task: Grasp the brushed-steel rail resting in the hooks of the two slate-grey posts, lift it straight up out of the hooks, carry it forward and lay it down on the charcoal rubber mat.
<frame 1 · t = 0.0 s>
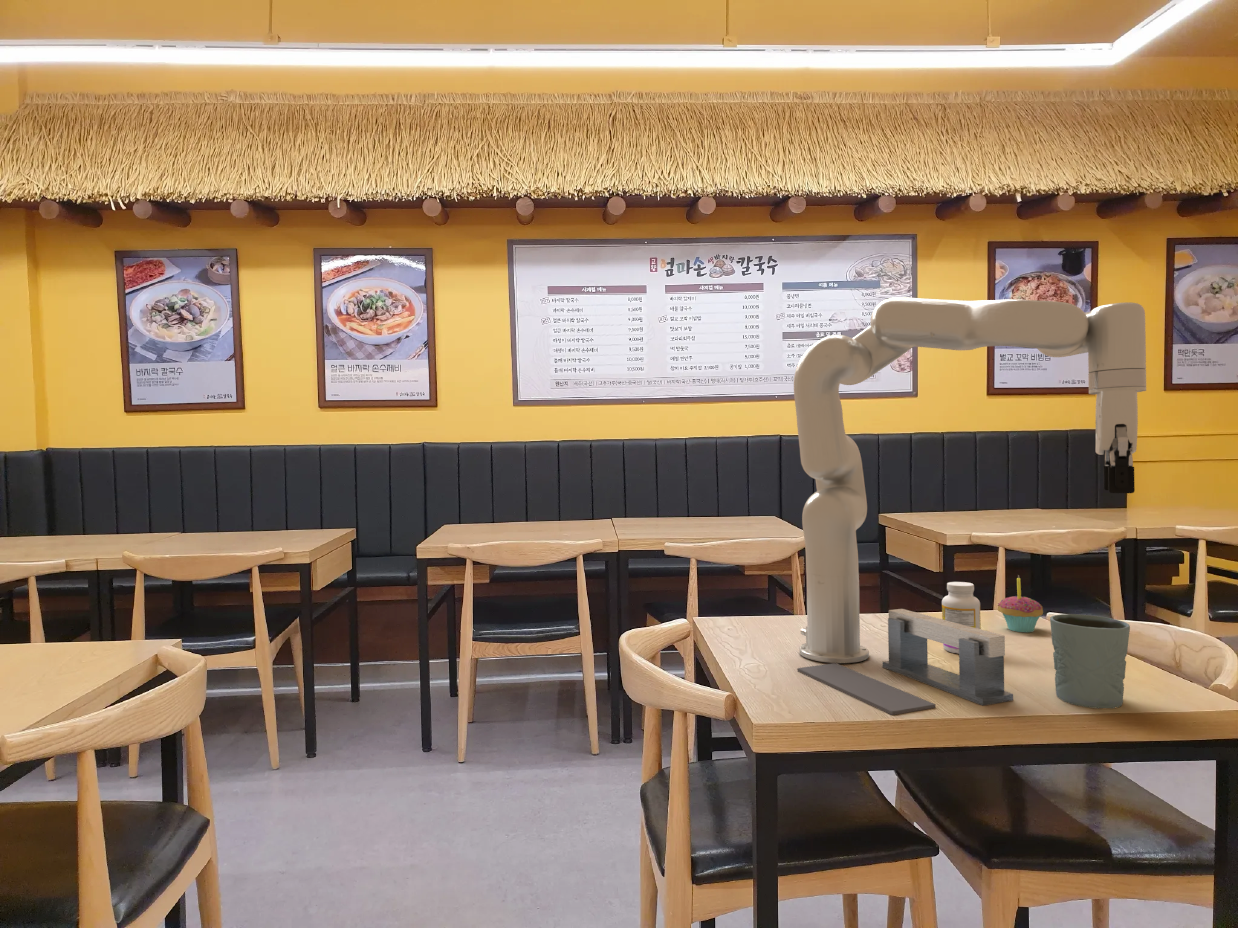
hand: (1118, 491, 115), 31 cm above the table, tool pointing down, fingers open, 9 cm apart
rail: (942, 639, 120), point 7 cm above the table, touching rack
cupcake: (1020, 630, 155), on the table
mat: (860, 687, 118), on the table
supplement bottle: (961, 651, 139), on the table
green planter pot: (1090, 700, 111), on the table
rack: (942, 682, 120), on the table
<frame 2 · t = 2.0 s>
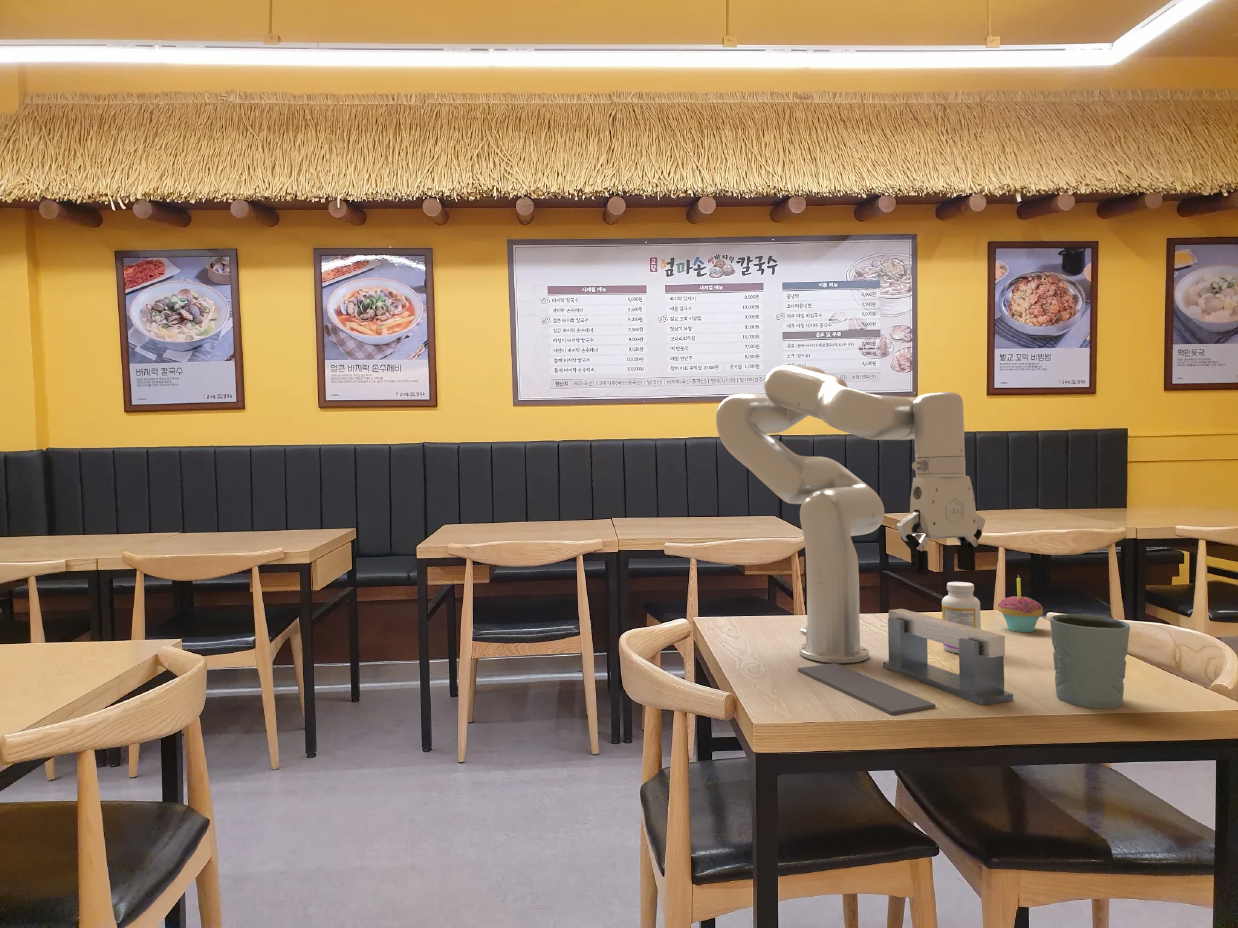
hand: (943, 572, 120), 18 cm above the table, tool pointing down, fingers open, 9 cm apart
nothing on the table moved.
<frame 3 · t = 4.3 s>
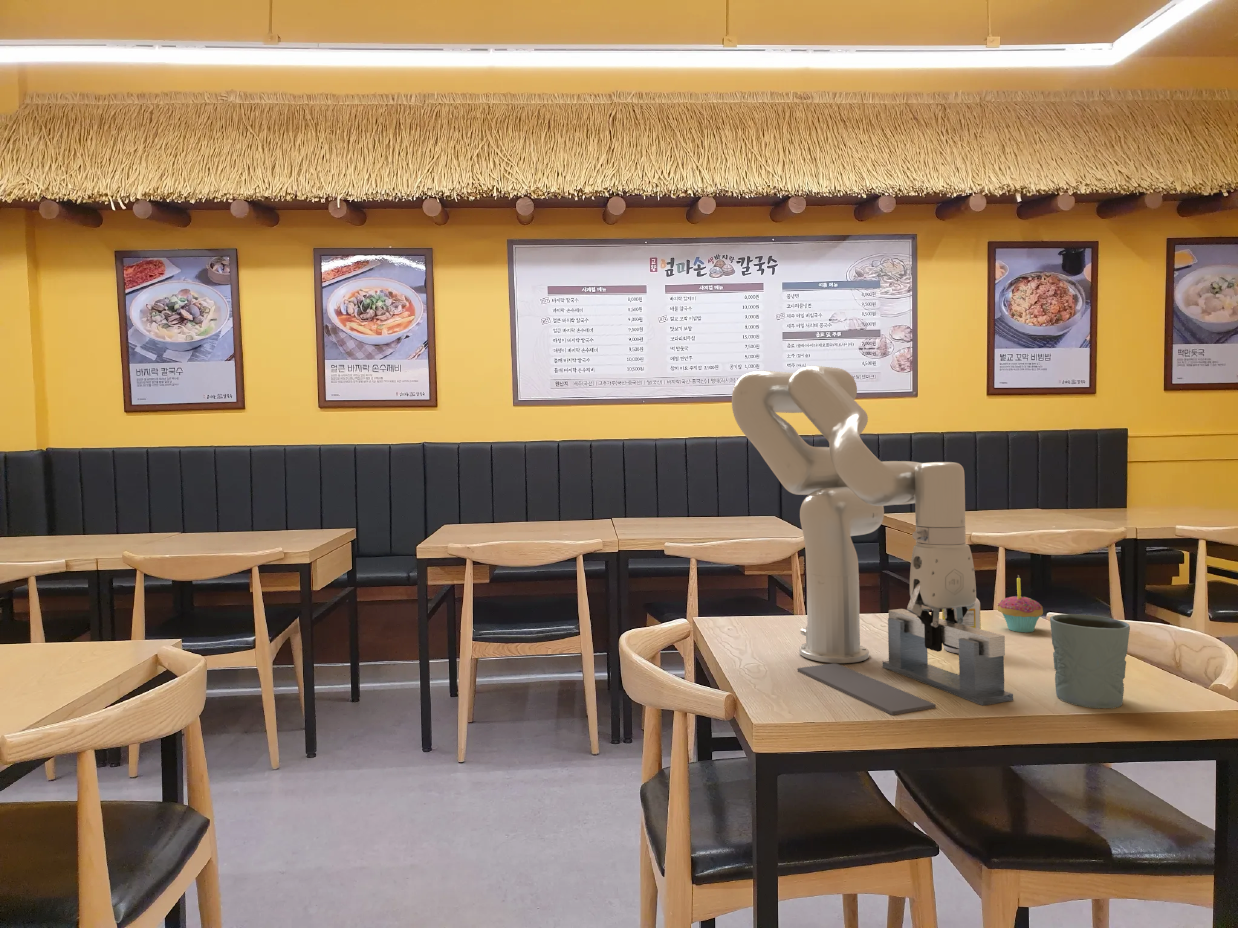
hand: (942, 647, 120), 6 cm above the table, tool pointing down, fingers closed on rail, 3 cm apart
rail: (942, 639, 120), point 7 cm above the table, touching gripper
everything else where it was.
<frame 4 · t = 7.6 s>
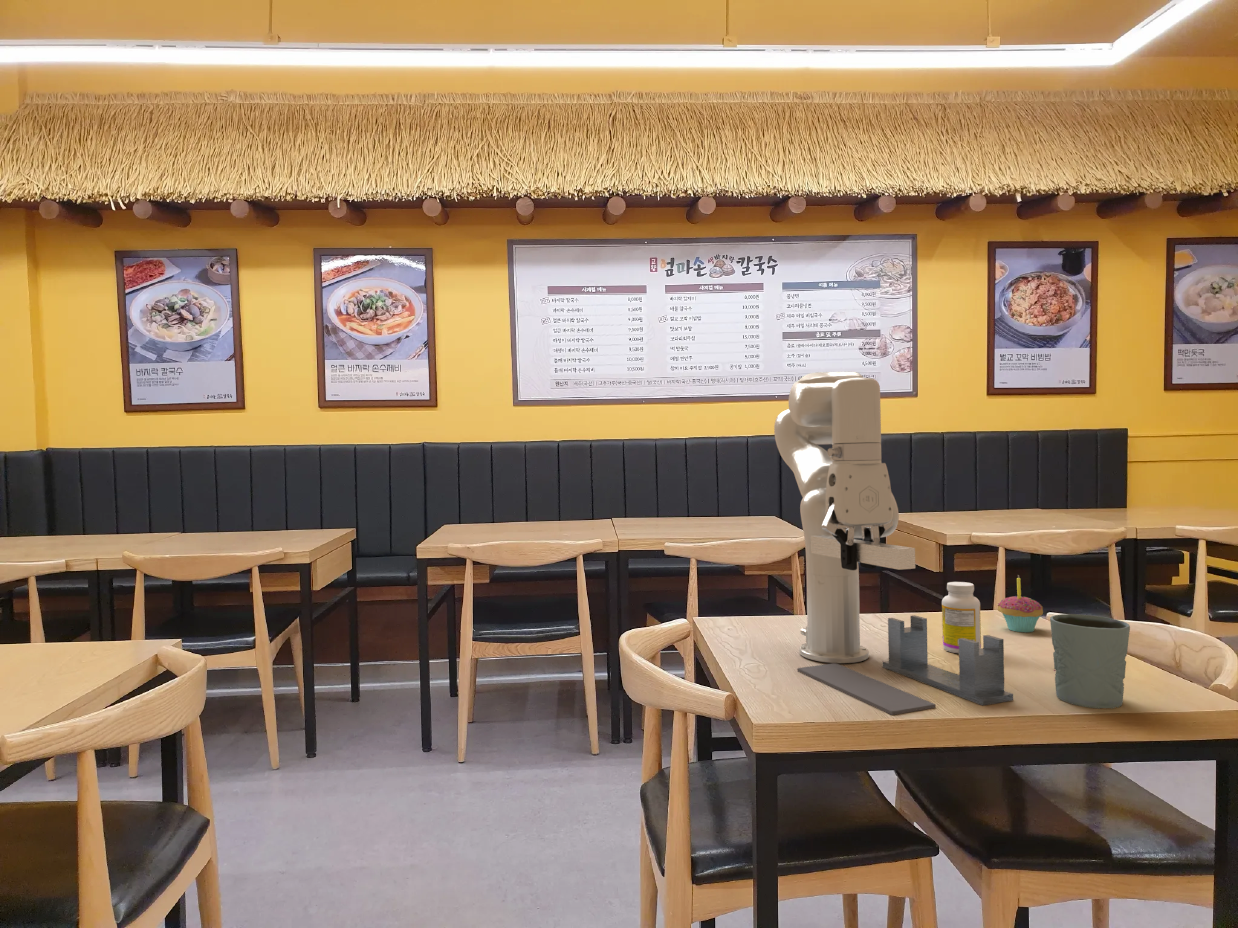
hand: (858, 567, 118), 20 cm above the table, tool pointing down, fingers closed on rail, 3 cm apart
rail: (858, 559, 118), point 21 cm above the table, touching gripper
everything else where it was.
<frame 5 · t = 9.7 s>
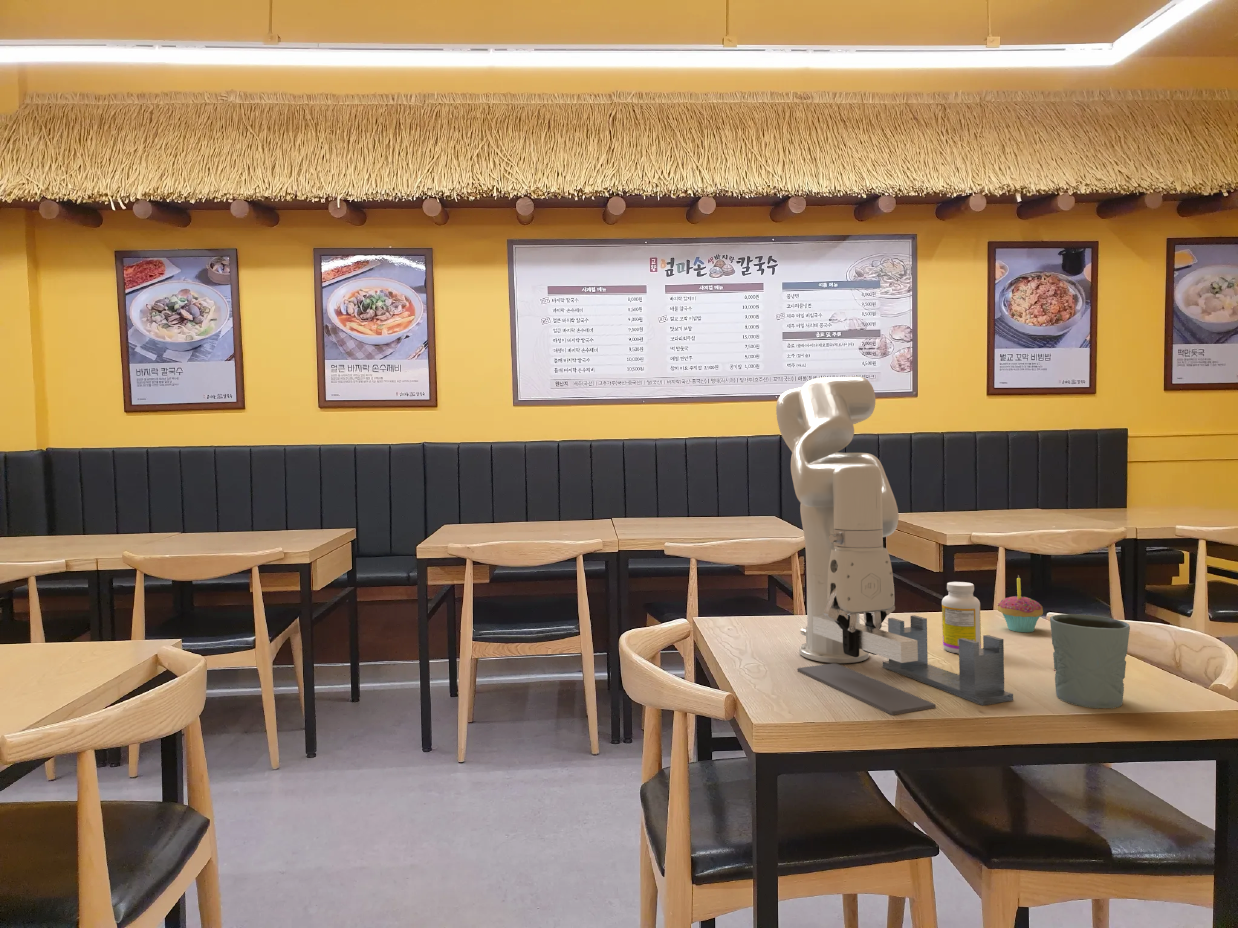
hand: (860, 652, 118), 6 cm above the table, tool pointing down, fingers closed on rail, 3 cm apart
rail: (861, 645, 118), point 7 cm above the table, touching gripper
everything else where it was.
when the fingers open (1 cm above the table, at t = 11.4 s): rail drops 2 cm, resting on mat.
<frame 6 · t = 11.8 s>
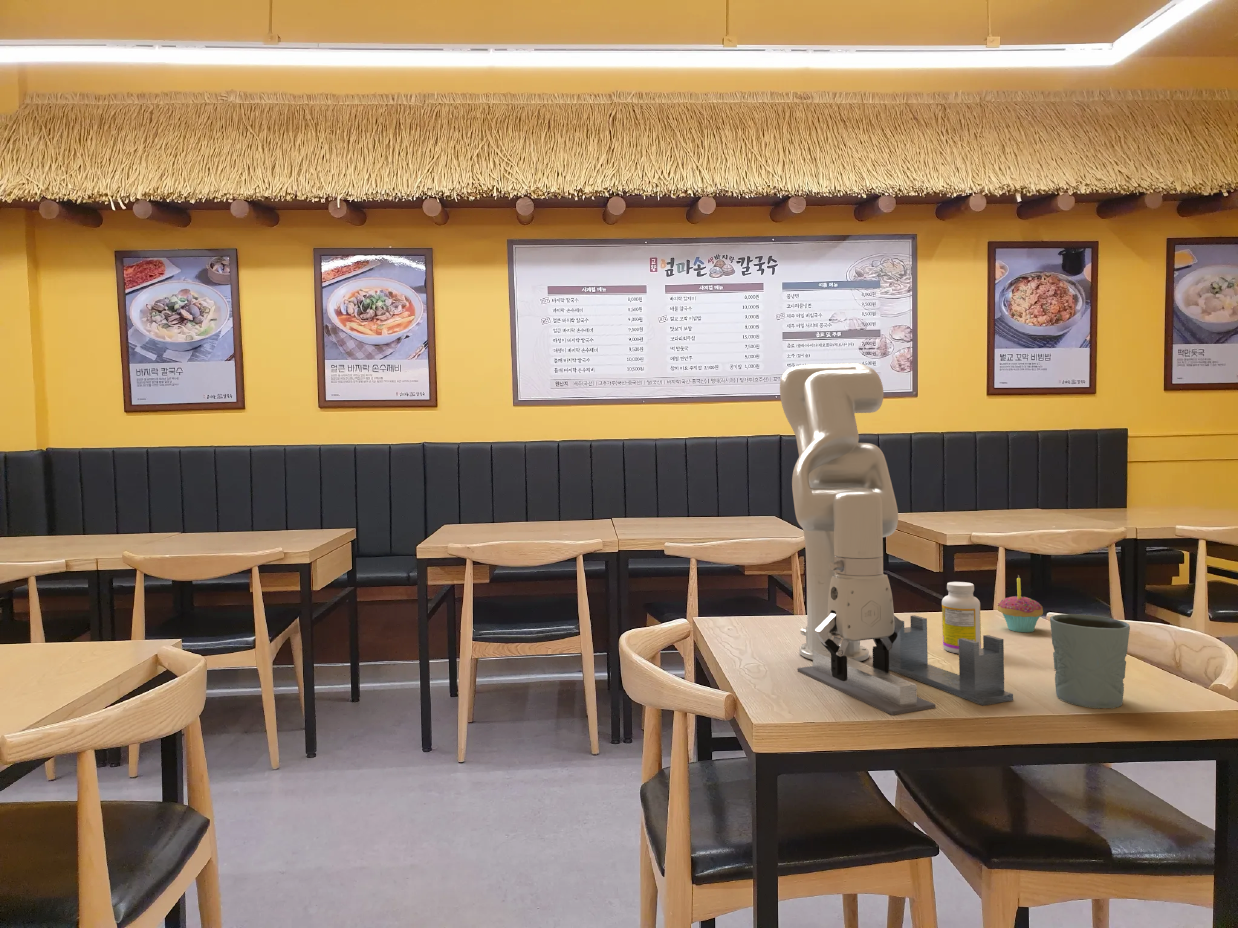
hand: (860, 674, 118), 2 cm above the table, tool pointing down, fingers open, 7 cm apart
rail: (860, 684, 118), resting on mat
everything else where it was.
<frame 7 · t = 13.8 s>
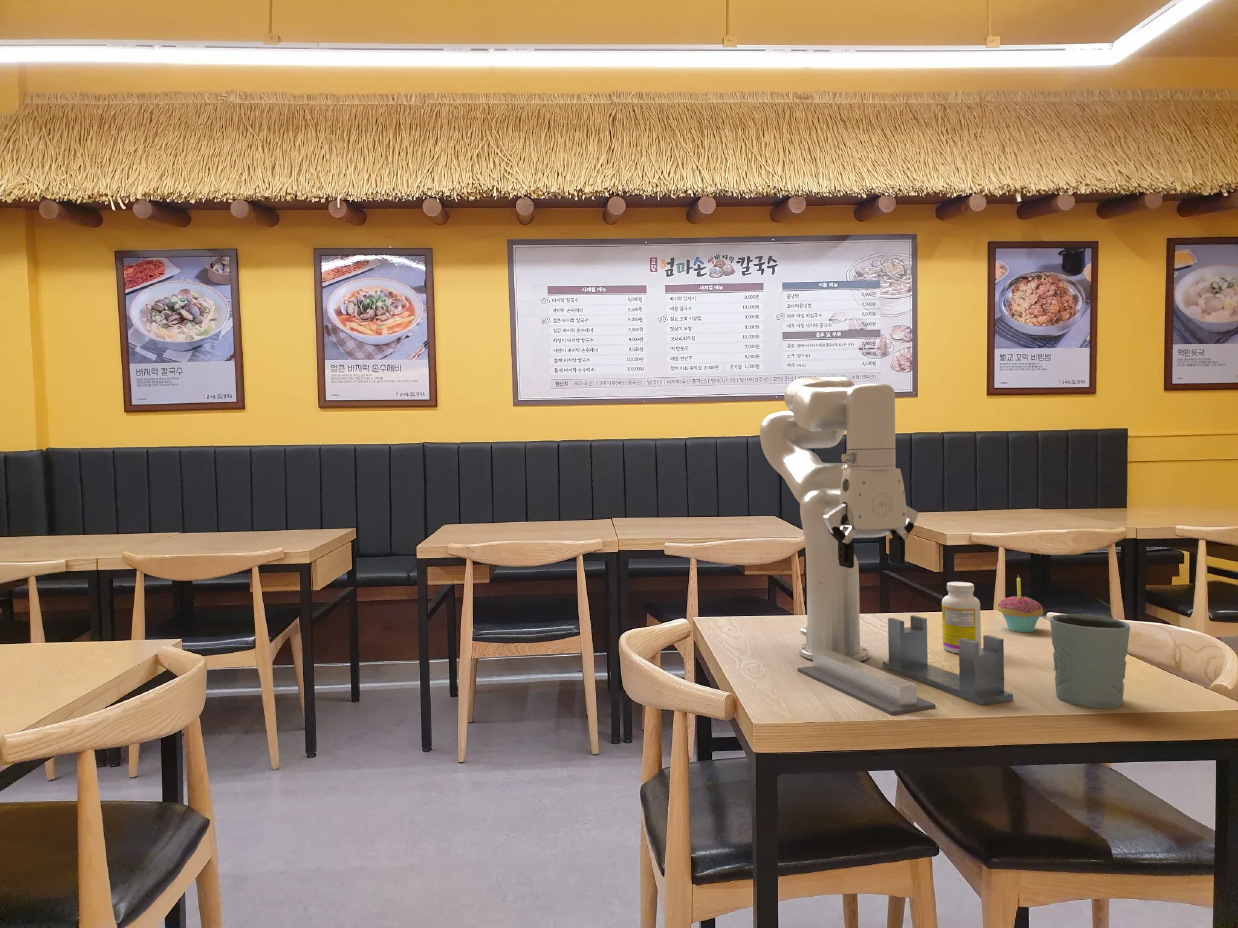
hand: (871, 564, 119), 20 cm above the table, tool pointing down, fingers open, 9 cm apart
nothing on the table moved.
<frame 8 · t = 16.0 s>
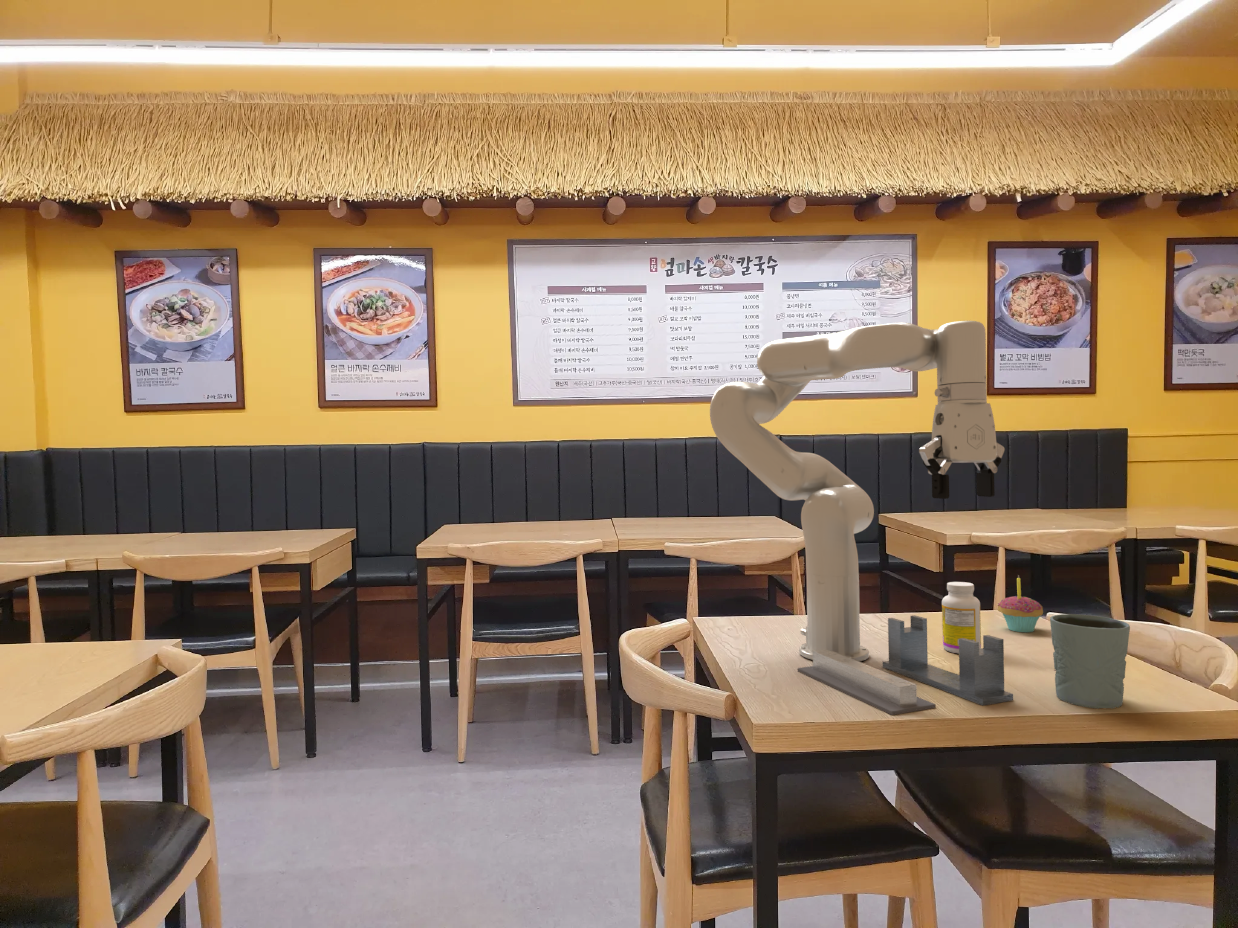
hand: (963, 497, 123), 30 cm above the table, tool pointing down, fingers open, 9 cm apart
nothing on the table moved.
at the end: rail inside the target area on the mat (0.0 cm from its centre), point 0.5 cm above the mat's base; rail touching mat; the gripper is holding nothing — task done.
